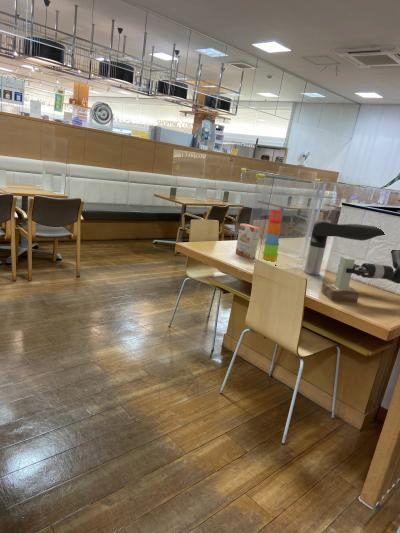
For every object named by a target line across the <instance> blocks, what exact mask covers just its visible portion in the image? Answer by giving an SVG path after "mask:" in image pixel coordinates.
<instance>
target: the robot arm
mask: <svg viewBox="0 0 400 533" xmlns="http://www.w3.org/2000/svg"><path fill="white" fill-rule="evenodd" d="M382 235H385V234H384V232H383V231H382V230H381V229H379V228H377V227H375V225H366V224H360V223H347V224H346V223H344V224H341V223H339V224H337V223H332V222H328V221H326V220H325V219H319V220H316V221H315V222H314V224H313V226H312V232H311V237H310V242H309V247H308V251H307V252H308V253H307V256H306V261H305V266H304V270H303V271H304V273H307V274H309V275H314V276H317V275H320V272H321V269H322V264H323V260H324V259H323V258H324V254H325V251H326V246H327V239H328V237H336V238H337V237H338V238H342V239H346V240H347V239H349V240H354V241H367V240H371V239H375V238H376V237H381V236H382ZM390 254H391V260H392V266H390V265H384V264H378V263H367V262H364V263H362V264H361V265H359V264H356V263H354V266H353V269H349V268H347V269H346V273H352V275H356V276H360V277H362V278H366V279H376V280H377V279H381V280H382V279H383V280H387V281H389V282H393V283H395V284H398V285H399V284H400V250H392V251H391V252H390ZM338 268H339V265H338Z"/></svg>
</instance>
